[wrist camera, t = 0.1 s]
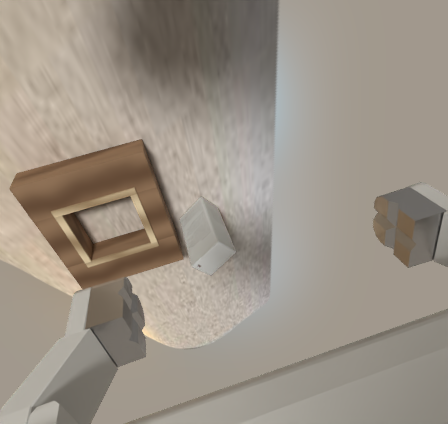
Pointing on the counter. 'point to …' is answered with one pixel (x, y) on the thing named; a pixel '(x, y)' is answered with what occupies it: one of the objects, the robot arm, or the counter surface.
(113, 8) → the counter surface
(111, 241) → the walnut socket board
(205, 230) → the skincare box
